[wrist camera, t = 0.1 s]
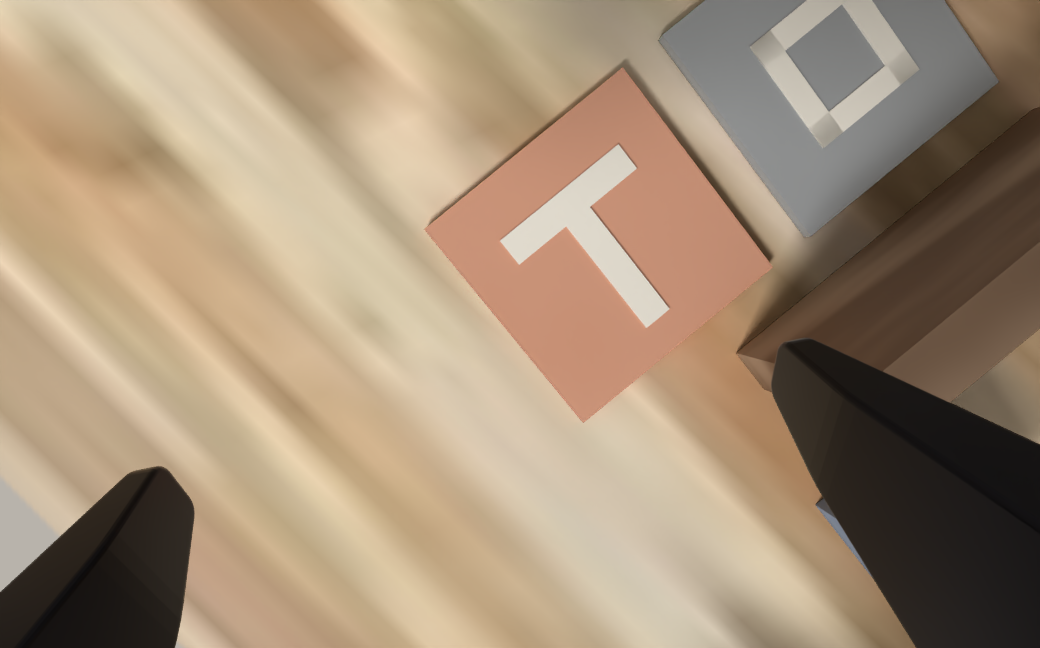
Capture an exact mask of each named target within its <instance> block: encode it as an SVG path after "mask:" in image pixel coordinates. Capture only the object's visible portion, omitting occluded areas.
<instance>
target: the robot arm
mask: <svg viewBox="0 0 1040 648" xmlns="http://www.w3.org/2000/svg"><path fill="white" fill-rule="evenodd" d="M771 389H772V394H773V397H774V399H775V402H776V404H777V406H778V408H779V410H780V412H781V414H782V416H783V418H784V420H785V423H786V425H787V427H788V429H789V431H790V433H791V435H792V437H793V439H794V441H795V443H796V446H797V448H798V450H799V452H800V454H801V456H802V458H803V460H804V462H805V464H806V467H807V469H808V471H809V473H810V475H811V477H812V479H813V480H814V482H815V484H816V486H817V488H818V490H819V491H820V493H821V495H822V496H823V498H824V500H825V502H826V503H827V505H828V506H829V508H830V510H831V511H832V513H833V514H834V516H835V518H836V519H837V521H838V523H839V524H840V526H841V527H842V529H843V531H844V532H845V534H846V535H847V537H848V539H849V540H850V542H851V543H852V545H853V547H854V548H855V550H856V552H857V553H858V555H859V556H860V558H861V560H862V561H863V563H864V564H865V566H866V568H867V569H868V571H869V573H870V574H871V576H872V577H873V579H874V581H875V582H876V584H877V585H878V587H879V589H880V590H881V592H882V593H883V595H884V597H885V598H886V600H887V602H888V603H889V605H890V606H891V608H892V610H893V611H894V613H895V614H896V616H897V618H898V619H899V621H900V623H901V624H902V626H903V627H904V629H905V631H906V632H907V634H908V635H909V637H910V639H911V640H912V642H913V643H914V645H915V647H916V648H1040V444H1038V443H1036V442H1034V441H1031V440H1029V439H1027V438H1025V437H1023V436H1021V435H1018V434H1016V433H1014V432H1012V431H1010V430H1008V429H1006V428H1003V427H1001V426H999V425H997V424H995V423H993V422H990V421H988V420H986V419H984V418H982V417H980V416H978V415H975V414H973V413H971V412H969V411H967V410H965V409H963V408H960V407H958V406H956V405H954V404H952V403H950V402H947V401H945V400H943V399H941V398H939V397H937V396H935V395H932V394H930V393H928V392H926V391H924V390H922V389H920V388H917V387H915V386H913V385H911V384H909V383H907V382H904V381H902V380H900V379H898V378H896V377H894V376H892V375H889V374H887V373H885V372H883V371H881V370H879V369H877V368H874V367H872V366H870V365H868V364H866V363H864V362H861V361H859V360H857V359H855V358H853V357H851V356H849V355H846V354H844V353H842V352H840V351H838V350H836V349H834V348H831V347H829V346H827V345H825V344H823V343H821V342H818V341H816V340H814V339H811V338H801V339H796V340H791V341H786V342H783V343H781V344H780V346H779V347H778V350H777V354H776V359H775V364H774V370H773V375H772V380H771ZM193 524H194V506H193V503H192V501H191V499H190V497H189V496H188V495H187V493H186V492H185V491H184V490H183V488H182V487H181V486H180V484H179V483H178V482H177V481H176V479H175V478H174V477H173V475H172V474H171V473H170V472H169V471H168V470H167V469H166V468H164V467H162V466H156V467H151V468H146V469H141V470H136V471H133V472H130V473H129V474H127V475H126V476H125V477H124V478H123V479H122V480H120V481H119V482H118V483H117V484H116V485H115V486H114V487H113V488H112V489H111V490H110V491H109V492H108V493H106V494H105V495H104V496H103V497H102V498H101V499H100V500H99V501H98V502H97V503H96V504H95V505H94V506H92V507H91V508H90V509H89V510H88V511H87V512H86V513H85V514H84V515H83V516H82V517H81V518H80V519H78V520H77V521H76V522H75V523H74V524H73V525H72V526H71V527H70V528H69V529H68V530H67V531H66V532H65V533H63V534H62V535H61V536H60V537H59V538H58V539H57V540H56V541H55V542H54V543H53V544H52V545H51V546H50V547H48V549H46V550H45V551H44V552H43V553H42V554H41V555H40V556H39V557H38V558H37V559H35V560H34V561H33V562H32V563H31V564H30V565H29V566H28V567H27V568H26V569H25V570H24V571H23V572H21V573H20V575H18V576H17V577H16V578H15V579H14V580H13V581H12V582H11V583H10V584H9V585H7V586H6V587H5V588H4V589H3V590H2V591H1V592H0V648H175V645H176V641H177V636H178V632H179V627H180V622H181V617H182V610H183V604H184V596H185V588H186V580H187V572H188V564H189V556H190V548H191V540H192V532H193Z"/></svg>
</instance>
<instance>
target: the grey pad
mask: <svg viewBox="0 0 1040 648" xmlns="http://www.w3.org/2000/svg"><path fill="white" fill-rule="evenodd" d="M658 41H659V42H660V43H661V45H662V46H663V47H664V49H665V50H666V51H667V53H668V54H669V55H670V57H671V58H672V60H673V61H674V62H675V64H676V65H677V66H678V68H679V69H680V70H681V72H682V73H683V74H684V76H685V77H686V78H687V80H688V81H689V83H690V84H691V85H692V87H693V88H694V89H695V91H696V92H697V93H698V95H699V96H700V97H701V99H702V100H703V101H704V103H705V104H706V105H707V107H708V108H709V110H710V111H711V112H712V114H713V115H714V116H715V118H716V119H717V120H718V122H719V123H720V124H721V126H722V127H723V128H724V130H725V131H726V132H727V134H728V135H729V137H730V138H731V139H732V141H733V142H734V143H735V145H736V146H737V147H738V149H739V150H740V151H741V153H742V154H743V155H744V157H745V158H746V159H747V161H748V162H749V164H750V165H751V166H752V168H753V169H754V170H755V172H756V173H757V174H758V176H759V177H760V178H761V180H762V181H763V182H764V184H765V185H766V187H767V188H768V189H769V191H770V192H771V193H772V195H773V196H774V197H775V199H776V200H777V201H778V203H779V204H780V205H781V207H782V208H783V209H784V211H785V212H786V214H787V215H788V216H789V218H790V219H791V220H792V222H793V223H794V224H795V226H796V227H797V228H798V230H799V231H800V232H801V234H802V235H803V236H804V237H809V236H812V235H813V234H814V233H815V232H817V231H818V230H819V229H820V228H821V227H823V226H824V225H825V224H826V223H828V222H829V221H830V220H831V219H832V218H834V217H835V216H836V215H837V214H839V213H840V212H841V211H842V210H843V209H845V208H846V207H847V206H848V205H849V204H851V203H852V202H853V201H854V200H856V199H857V198H858V197H859V196H860V195H862V194H863V193H864V192H865V191H867V190H868V189H869V188H870V187H871V186H873V185H874V184H875V183H876V182H878V181H879V180H880V179H881V178H882V177H884V176H885V175H886V174H887V173H888V172H890V171H891V170H892V169H893V168H895V167H896V166H897V165H898V164H899V163H901V162H902V161H903V160H904V159H906V158H907V157H908V156H909V155H910V154H912V153H913V152H914V151H915V150H917V149H918V148H919V147H920V146H921V145H923V144H924V143H925V142H926V141H928V140H929V139H930V138H931V137H932V136H934V135H935V134H936V133H937V132H938V131H940V130H941V129H942V128H943V127H945V126H946V125H947V124H948V123H949V122H951V121H952V120H953V119H954V118H956V117H957V116H958V115H959V114H960V113H962V112H963V111H964V110H965V109H967V108H968V107H969V106H970V105H971V104H973V103H974V102H975V101H976V100H977V99H979V98H980V97H981V96H982V95H984V94H985V93H986V92H987V91H988V90H990V89H991V88H992V87H993V86H995V85H996V84H997V83H998V82H999V80H998V79H997V78H996V76H995V75H994V73H993V72H992V70H991V69H990V67H989V66H988V64H987V63H986V61H985V60H984V58H983V57H982V55H981V54H980V52H979V51H978V49H977V48H976V46H975V45H974V43H973V42H972V41H971V39H970V38H969V36H968V35H967V33H966V32H965V30H964V29H963V27H962V26H961V24H960V23H959V21H958V20H957V18H956V17H955V15H954V14H953V12H952V11H951V9H950V8H949V6H948V5H947V4H946V2H945V1H944V0H705V1H704V2H702V3H701V4H700V5H699V6H697V7H696V8H695V9H694V10H692V11H691V12H690V13H689V14H688V15H686V16H685V17H684V18H683V19H681V20H680V21H679V22H678V23H677V24H675V25H674V26H673V27H672V28H670V29H669V30H668V31H667V32H665V33H664V34H663V35H662V36H661V38H660V39H659V40H658Z"/></svg>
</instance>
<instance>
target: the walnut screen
mask: <svg viewBox="0 0 1040 648" xmlns="http://www.w3.org/2000/svg"><path fill="white" fill-rule="evenodd" d="M1039 329H1040V107H1039V108H1036V109H1033V110H1032V111H1030V112H1029V113H1028V114H1027V115H1025V116H1024V117H1023V118H1022V119H1021V120H1019V121H1018V122H1017V123H1016V124H1014V125H1013V126H1012V127H1011V128H1010V129H1008V130H1007V131H1006V132H1005V133H1004V134H1002V135H1001V136H1000V137H999V138H997V139H996V140H995V141H994V142H993V143H991V144H990V145H989V146H988V147H986V148H985V149H984V150H983V151H982V152H980V153H979V154H978V155H977V156H976V157H974V158H973V159H972V160H971V161H969V162H968V163H967V164H966V165H965V166H963V167H962V168H961V169H960V170H958V171H957V172H956V173H955V174H954V175H952V176H951V177H950V178H949V179H948V180H946V181H945V182H944V183H943V184H941V185H940V186H939V187H938V188H937V189H935V190H934V191H933V192H932V193H930V194H929V195H928V196H927V197H926V198H924V199H923V200H922V201H921V202H920V203H918V204H917V205H916V206H915V207H913V208H912V209H911V210H910V211H909V212H907V213H906V214H905V215H904V216H902V217H901V218H900V219H899V220H898V221H896V222H895V223H894V224H893V225H892V226H890V227H889V228H888V229H887V230H885V231H884V232H883V233H882V234H881V235H879V236H878V237H877V238H876V239H874V240H873V241H872V242H871V243H870V244H868V245H867V246H866V247H865V248H863V249H862V250H861V251H860V252H859V253H857V254H856V255H855V256H854V257H853V258H851V259H850V260H849V261H848V262H846V263H845V264H844V265H843V266H842V267H840V268H839V269H838V270H837V271H835V272H834V273H833V274H832V275H831V276H829V277H828V278H827V279H826V280H825V281H823V282H822V283H821V284H820V285H818V286H817V287H816V288H815V289H814V290H812V291H811V292H810V293H809V294H807V295H806V296H805V297H804V298H803V299H801V300H800V301H799V302H798V303H797V304H795V305H794V306H793V307H792V308H790V309H789V310H788V311H787V312H786V313H784V314H783V315H782V316H781V317H779V318H778V319H777V320H776V321H775V322H773V323H772V324H771V325H770V326H769V327H767V328H766V329H765V330H764V331H762V332H761V333H760V334H759V335H758V336H756V337H755V338H754V339H753V340H751V341H750V342H749V343H748V344H747V345H745V346H744V347H743V348H742V349H741V350H739V351H738V352H737V353H736V354H737V355H738V356H739V357H740V359H741V360H742V361H743V363H744V364H745V365H746V366H747V368H748V369H749V370H750V372H751V373H752V374H753V375H754V377H755V378H756V379H757V381H758V382H759V383H760V385H761V386H762V387H763V388H764V389H765V390H767V391H770V392H772V389H771V380H772V375H773V370H774V364H775V359H776V354H777V350H778V347H779V346H780V344H781V343H783V342H786V341H791V340H796V339H801V338H811V339H814V340H816V341H818V342H821V343H823V344H825V345H827V346H829V347H831V348H834V349H836V350H838V351H840V352H842V353H844V354H846V355H849V356H851V357H853V358H855V359H857V360H859V361H861V362H864V363H866V364H868V365H870V366H872V367H874V368H877V369H879V370H881V371H883V372H885V373H887V374H889V375H892V376H894V377H896V378H898V379H900V380H902V381H904V382H907V383H909V384H911V385H913V386H915V387H917V388H920V389H922V390H924V391H926V392H928V393H930V394H932V395H935V396H937V397H939V398H941V399H943V400H945V401H947V402H951V401H953V400H954V399H955V398H956V397H957V396H959V395H960V394H961V393H962V392H963V391H965V390H966V389H967V388H968V387H969V386H971V385H972V384H973V383H974V382H976V381H977V380H978V379H979V378H980V377H982V376H983V375H984V374H985V373H986V372H988V371H989V370H990V369H991V368H993V367H994V366H995V365H996V364H997V363H999V362H1000V361H1001V360H1002V359H1003V358H1005V357H1006V356H1007V355H1008V354H1009V353H1011V352H1012V351H1013V350H1014V349H1016V348H1017V347H1018V346H1019V345H1020V344H1022V343H1023V342H1024V341H1025V340H1026V339H1028V338H1029V337H1030V336H1031V335H1033V334H1034V333H1035V332H1036V331H1037V330H1039Z"/></svg>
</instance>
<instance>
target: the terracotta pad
mask: <svg viewBox="0 0 1040 648" xmlns="http://www.w3.org/2000/svg"><path fill="white" fill-rule="evenodd" d="M425 231H426V232H427V233H428V234H429V236H430V237H431V238H432V239H433V240H434V242H435V243H436V244H437V245H438V247H439V248H440V249H441V250H442V251H443V253H444V254H445V255H446V256H447V258H448V259H449V260H450V261H451V262H452V264H453V265H454V266H455V267H456V268H457V270H458V271H459V272H460V273H461V275H462V276H463V277H464V278H465V279H466V281H467V282H468V283H469V284H470V286H471V287H472V288H473V289H474V290H475V292H476V293H477V294H478V295H479V297H480V298H481V299H482V300H483V301H484V303H485V304H486V305H487V306H488V307H489V309H490V310H491V311H492V312H493V314H494V315H495V316H496V317H497V318H498V320H499V321H500V322H501V323H502V325H503V326H504V327H505V328H506V329H507V331H508V332H509V333H510V334H511V336H512V337H513V338H514V339H515V340H516V342H517V343H518V344H519V345H520V346H521V348H522V349H523V350H524V351H525V353H526V354H527V355H528V356H529V357H530V359H531V360H532V361H533V362H534V364H535V365H536V366H537V367H538V368H539V370H540V371H541V372H542V373H543V375H544V376H545V377H546V378H547V379H548V381H549V382H550V383H551V384H552V385H553V387H554V388H555V389H556V390H557V392H558V393H559V394H560V395H561V396H562V398H563V399H564V400H565V401H566V403H567V404H568V405H569V406H570V407H571V409H572V410H573V411H574V412H575V413H576V415H577V416H578V417H579V418H580V420H581V421H582V422H583V423H584V422H585V421H586V420H587V419H589V418H590V417H591V416H592V415H594V414H595V413H596V412H597V411H598V410H600V409H601V408H602V407H603V406H604V405H606V404H607V403H608V402H609V401H611V400H612V399H613V398H614V397H615V396H617V395H618V394H619V393H620V392H622V391H623V390H624V389H625V388H626V387H628V386H629V385H630V384H631V383H633V382H634V381H635V380H636V379H637V378H639V377H640V376H641V375H642V374H643V373H645V372H646V371H647V370H648V369H650V368H651V367H652V366H653V365H654V364H656V363H657V362H658V361H659V360H661V359H662V358H663V357H664V356H665V355H667V354H668V353H669V352H670V351H672V350H673V349H674V348H675V347H676V346H678V345H679V344H680V343H681V342H682V341H684V340H685V339H686V338H687V337H689V336H690V335H691V334H692V333H693V332H695V331H696V330H697V329H698V328H700V327H701V326H702V325H703V324H704V323H706V322H707V321H708V320H709V319H711V318H712V317H713V316H714V315H715V314H717V313H718V312H719V311H720V310H721V309H723V308H724V307H725V306H726V305H728V304H729V303H730V302H731V301H732V300H734V299H735V298H736V297H737V296H739V295H740V294H741V293H742V292H743V291H745V290H746V289H747V288H748V287H750V286H751V285H752V284H753V283H754V282H756V281H757V280H758V279H759V278H761V277H762V276H763V275H764V274H765V273H767V272H768V271H769V270H770V269H771V268H773V266H772V265H771V264H770V262H769V261H768V260H767V258H766V257H765V256H764V254H763V253H762V252H761V250H760V249H759V248H758V247H757V245H756V244H755V243H754V241H753V240H752V239H751V237H750V236H749V235H748V233H747V232H746V231H745V229H744V228H743V227H742V225H741V224H740V223H739V221H738V220H737V219H736V217H735V216H734V215H733V213H732V212H731V211H730V209H729V208H728V207H727V205H726V204H725V203H724V201H723V200H722V199H721V197H720V196H719V195H718V193H717V192H716V191H715V189H714V188H713V187H712V185H711V184H710V183H709V181H708V180H707V179H706V177H705V176H704V175H703V173H702V172H701V171H700V169H699V168H698V167H697V165H696V164H695V163H694V161H693V160H692V159H691V157H690V156H689V155H688V153H687V152H686V151H685V149H684V148H683V147H682V145H681V144H680V143H679V141H678V140H677V139H676V137H675V136H674V135H673V133H672V132H671V131H670V129H669V128H668V127H667V125H666V124H665V123H664V121H663V120H662V119H661V117H660V116H659V115H658V114H657V112H656V111H655V110H654V108H653V107H652V106H651V104H650V103H649V102H648V100H647V99H646V98H645V96H644V95H643V94H642V92H641V91H640V90H639V88H638V87H637V86H636V84H635V83H634V82H633V80H632V79H631V78H630V76H629V75H628V74H627V72H626V71H625V70H624V68H621V69H620V70H619V71H618V72H616V73H615V74H614V75H613V76H611V77H610V78H609V79H608V80H607V81H605V82H604V83H603V84H602V85H600V86H599V87H598V88H597V89H596V90H594V91H593V92H592V93H591V94H589V95H588V96H587V97H586V98H584V99H583V100H582V101H581V102H580V103H578V104H577V105H576V106H575V107H573V108H572V109H571V110H570V111H569V112H567V113H566V114H565V115H564V116H562V117H561V118H560V119H559V120H558V121H556V122H555V123H554V124H553V125H551V126H550V127H549V128H548V129H546V130H545V131H544V132H543V133H542V134H540V135H539V136H538V137H537V138H535V139H534V140H533V141H532V142H531V143H529V144H528V145H527V146H526V147H524V148H523V149H522V150H521V151H519V152H518V153H517V154H516V155H515V156H513V157H512V158H511V159H510V160H508V161H507V162H506V163H505V164H504V165H502V166H501V167H500V168H499V169H497V170H496V171H495V172H494V173H492V174H491V175H490V176H489V177H488V178H486V179H485V180H484V181H483V182H481V183H480V184H479V185H478V186H477V187H475V188H474V189H473V190H472V191H470V192H469V193H468V194H467V195H465V196H464V197H463V198H462V199H461V200H459V201H458V202H457V203H456V204H454V205H453V206H452V207H451V208H450V209H448V210H447V211H446V212H445V213H443V214H442V215H441V216H440V217H438V218H437V219H436V220H435V221H434V222H432V223H431V224H430V225H429V226H427V227H426V228H425Z"/></svg>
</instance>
